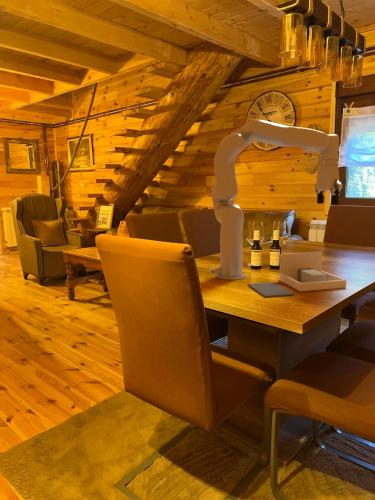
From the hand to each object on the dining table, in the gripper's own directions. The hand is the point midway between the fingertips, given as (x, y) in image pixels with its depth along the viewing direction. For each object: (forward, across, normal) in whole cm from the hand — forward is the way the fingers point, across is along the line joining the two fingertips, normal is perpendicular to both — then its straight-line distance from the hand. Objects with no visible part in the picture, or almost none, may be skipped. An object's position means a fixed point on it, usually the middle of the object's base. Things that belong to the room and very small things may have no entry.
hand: (327, 203), depth 164 cm
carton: (+30, +18, -20) cm, 40 cm away
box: (+30, +18, -20) cm, 40 cm away
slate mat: (+30, +20, -39) cm, 53 cm away
